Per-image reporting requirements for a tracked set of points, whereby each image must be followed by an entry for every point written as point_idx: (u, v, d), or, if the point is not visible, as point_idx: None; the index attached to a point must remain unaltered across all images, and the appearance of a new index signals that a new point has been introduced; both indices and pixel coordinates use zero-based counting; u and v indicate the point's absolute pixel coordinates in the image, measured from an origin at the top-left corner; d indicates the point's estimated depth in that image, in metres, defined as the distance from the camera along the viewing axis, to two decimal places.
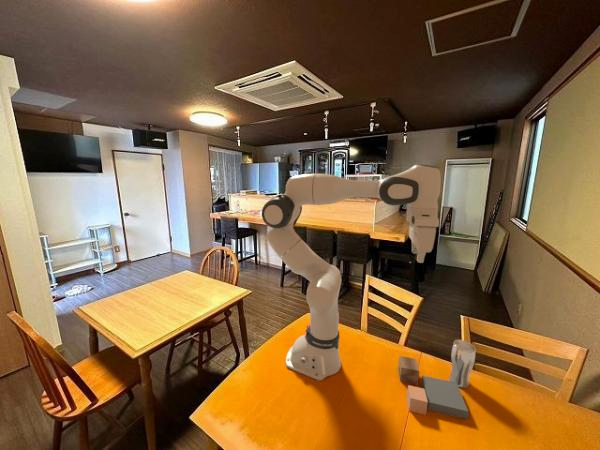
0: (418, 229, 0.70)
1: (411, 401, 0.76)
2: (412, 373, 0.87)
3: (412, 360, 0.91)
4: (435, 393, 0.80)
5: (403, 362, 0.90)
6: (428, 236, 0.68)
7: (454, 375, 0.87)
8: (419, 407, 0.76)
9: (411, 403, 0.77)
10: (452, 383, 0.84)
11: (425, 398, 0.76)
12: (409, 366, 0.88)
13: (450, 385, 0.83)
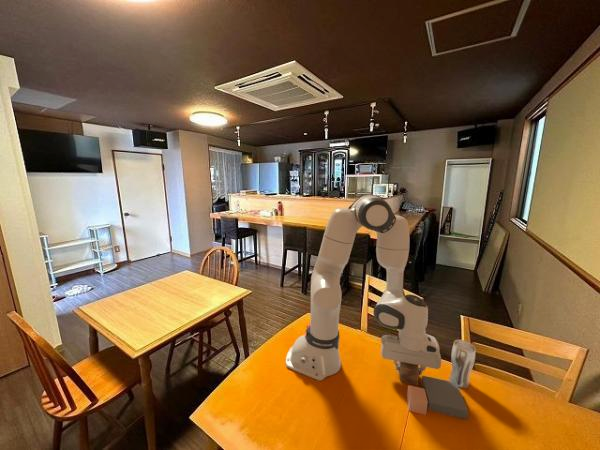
0: (439, 354, 0.84)
1: (411, 401, 0.76)
2: (412, 373, 0.87)
3: None
4: (435, 393, 0.80)
5: (403, 362, 0.90)
6: None
7: (454, 375, 0.87)
8: (419, 407, 0.76)
9: (411, 403, 0.77)
10: (452, 383, 0.84)
11: (425, 398, 0.76)
12: (409, 366, 0.88)
13: (450, 385, 0.83)
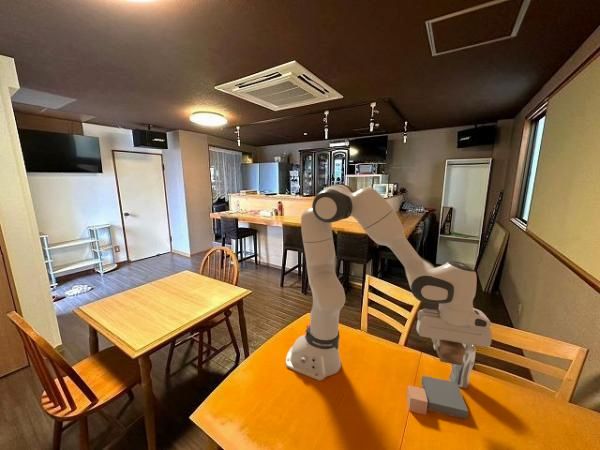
0: (489, 329, 0.71)
1: (411, 401, 0.76)
2: (455, 352, 0.74)
3: None
4: (435, 393, 0.80)
5: None
6: None
7: (454, 375, 0.87)
8: (419, 407, 0.76)
9: (411, 403, 0.77)
10: (452, 383, 0.84)
11: (425, 398, 0.76)
12: (452, 344, 0.75)
13: (450, 385, 0.83)
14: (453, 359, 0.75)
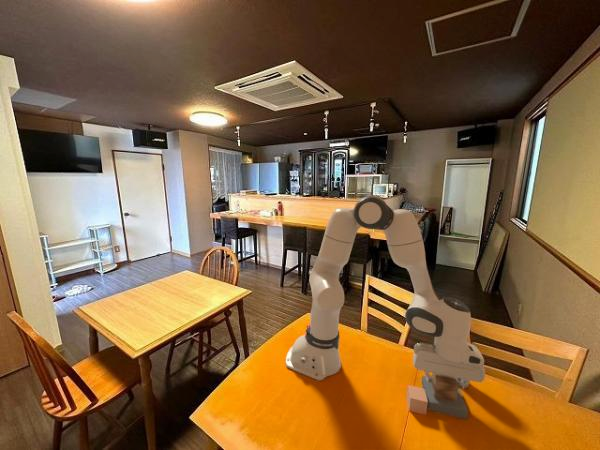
0: (483, 365, 0.73)
1: (411, 401, 0.76)
2: (450, 388, 0.77)
3: None
4: None
5: (438, 375, 0.80)
6: None
7: None
8: (419, 407, 0.76)
9: (411, 403, 0.77)
10: None
11: (425, 398, 0.76)
12: (446, 380, 0.78)
13: None
14: (447, 395, 0.77)
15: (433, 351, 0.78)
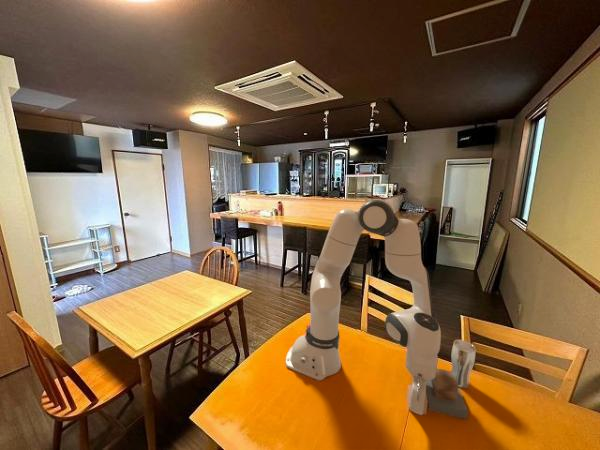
0: None
1: None
2: (450, 388, 0.77)
3: (448, 373, 0.81)
4: None
5: (438, 375, 0.80)
6: None
7: (454, 375, 0.87)
8: None
9: None
10: None
11: (425, 398, 0.76)
12: (446, 380, 0.78)
13: None
14: (447, 395, 0.77)
15: (422, 380, 0.72)
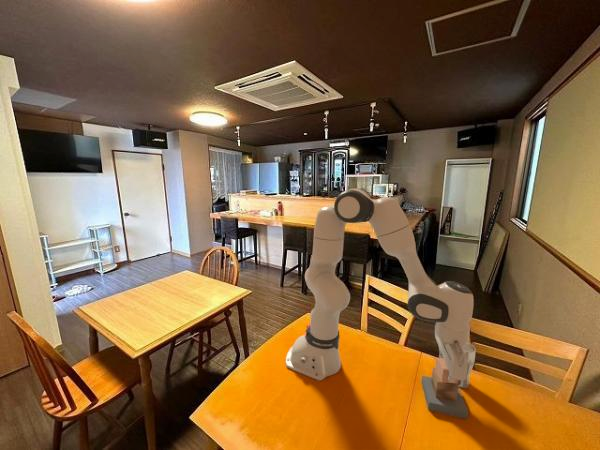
0: None
1: (444, 372, 0.76)
2: (450, 388, 0.77)
3: None
4: None
5: None
6: None
7: None
8: None
9: (444, 374, 0.77)
10: None
11: None
12: None
13: None
14: (447, 395, 0.77)
15: None
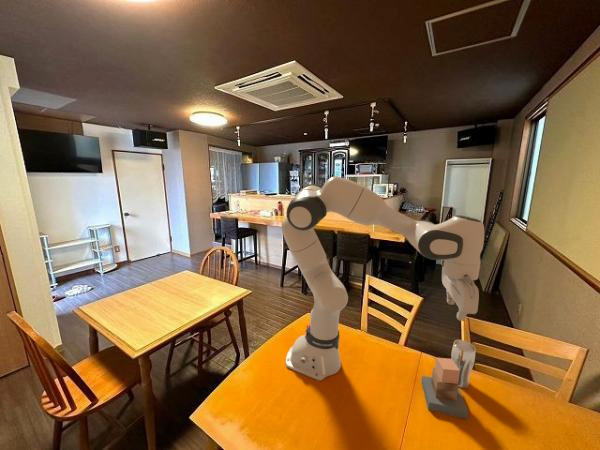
0: None
1: (444, 372, 0.76)
2: (450, 388, 0.77)
3: None
4: None
5: None
6: None
7: None
8: (451, 377, 0.76)
9: (444, 374, 0.77)
10: None
11: (456, 367, 0.77)
12: None
13: None
14: (447, 395, 0.77)
15: None
